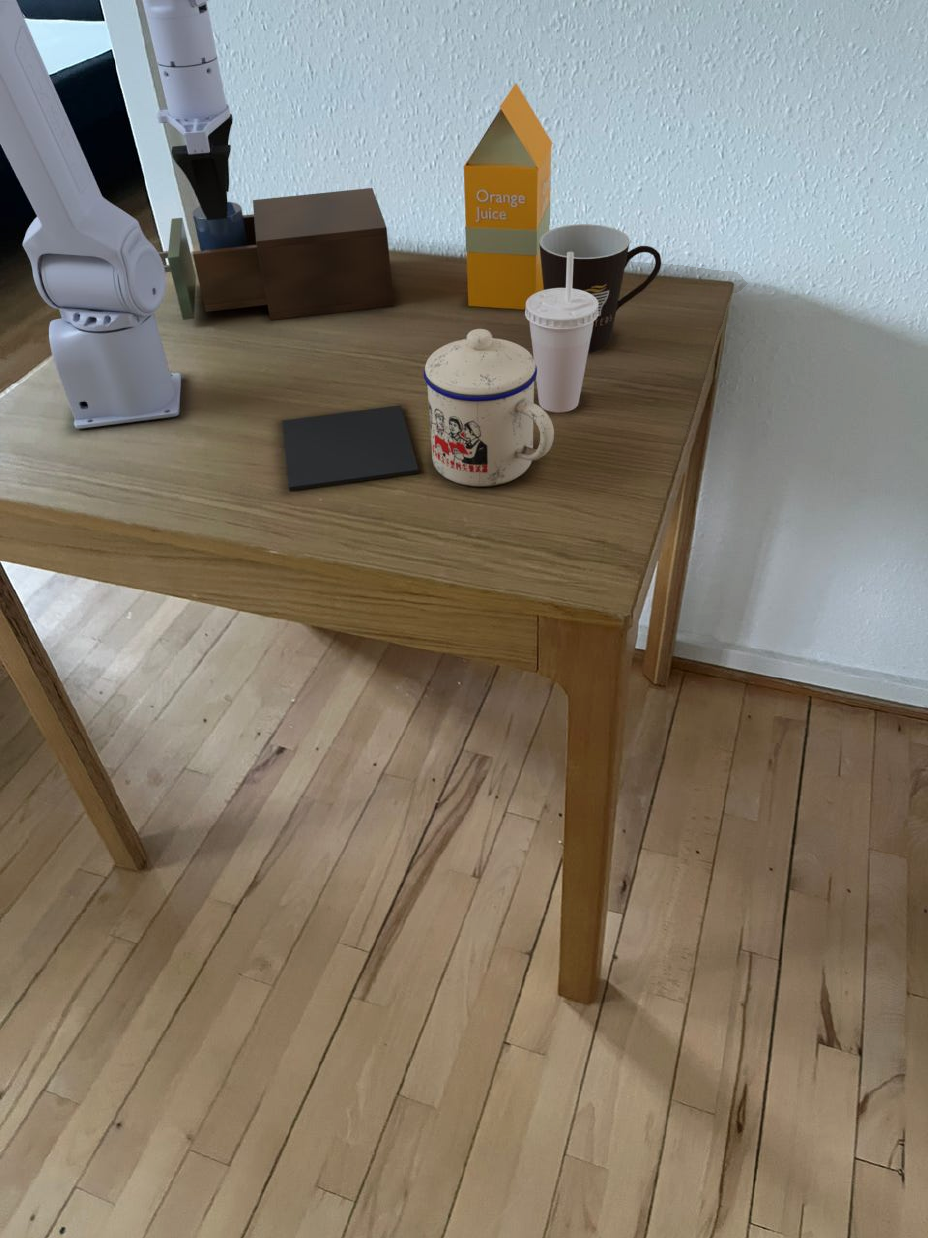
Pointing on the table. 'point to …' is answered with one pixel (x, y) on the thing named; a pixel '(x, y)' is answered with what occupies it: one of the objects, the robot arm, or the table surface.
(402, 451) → the mat
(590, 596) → the table surface
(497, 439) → the teacup with lid
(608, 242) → the coffee mug
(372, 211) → the cabinet
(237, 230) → the blue-grey cylinder
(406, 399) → the table surface
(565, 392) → the smoothie
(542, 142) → the orange juice
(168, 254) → the drawer
